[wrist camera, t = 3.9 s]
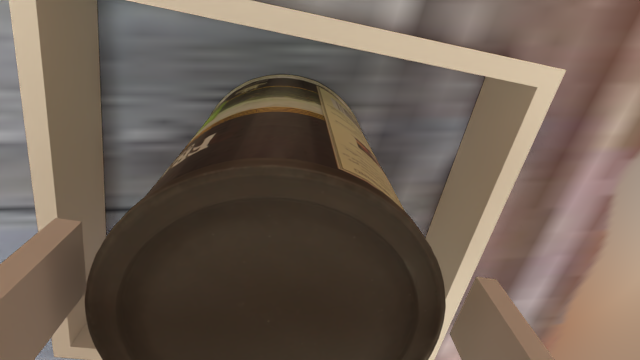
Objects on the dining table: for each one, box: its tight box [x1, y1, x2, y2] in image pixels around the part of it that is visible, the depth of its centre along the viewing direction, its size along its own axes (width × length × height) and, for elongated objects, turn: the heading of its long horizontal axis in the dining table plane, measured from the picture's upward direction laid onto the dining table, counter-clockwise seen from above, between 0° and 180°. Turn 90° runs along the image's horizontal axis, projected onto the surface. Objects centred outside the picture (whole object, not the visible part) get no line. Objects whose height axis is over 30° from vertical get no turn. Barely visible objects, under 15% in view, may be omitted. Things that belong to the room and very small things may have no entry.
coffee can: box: [85, 75, 446, 360], centre depth 17 cm, size 10×10×14 cm
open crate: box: [9, 0, 566, 360], centre depth 22 cm, size 22×24×5 cm
